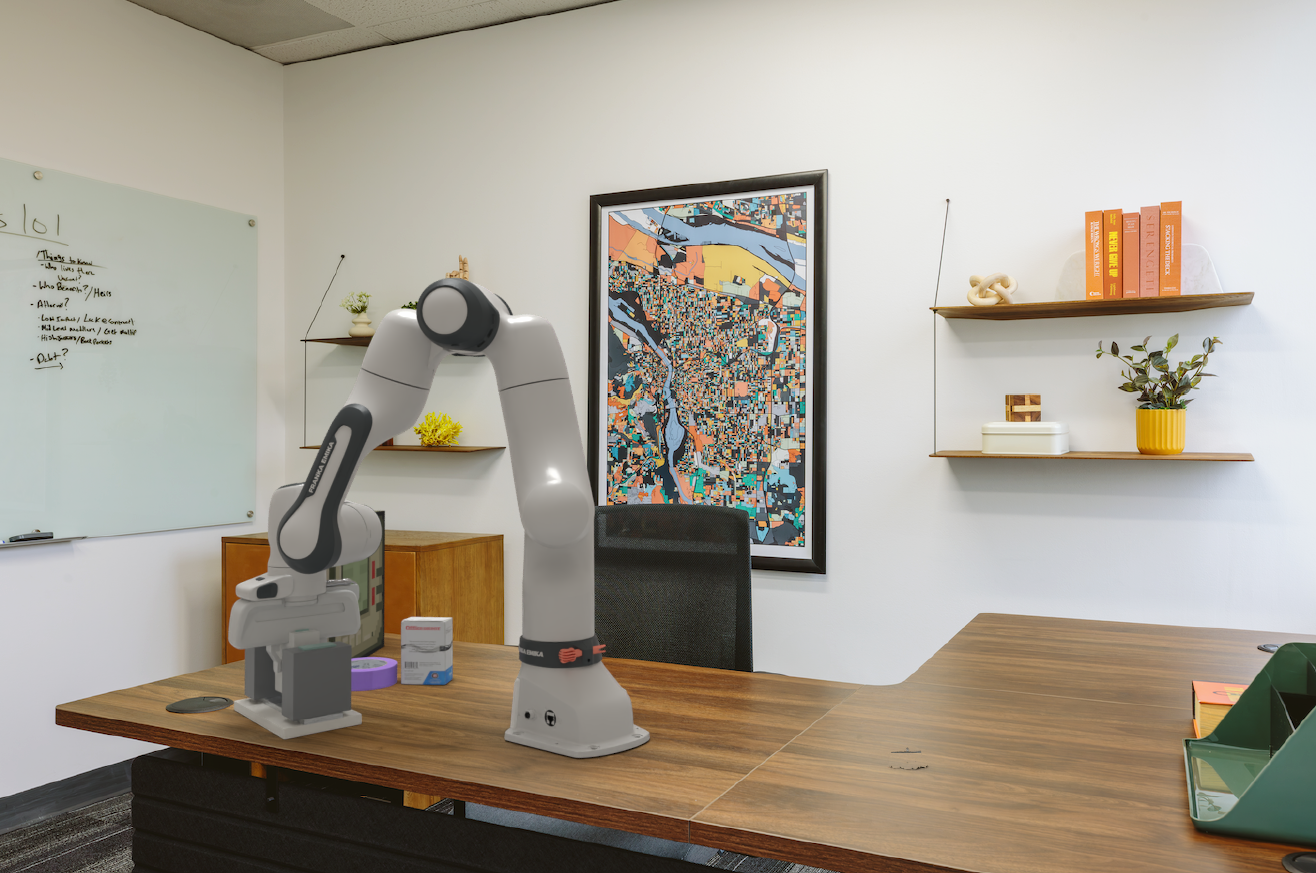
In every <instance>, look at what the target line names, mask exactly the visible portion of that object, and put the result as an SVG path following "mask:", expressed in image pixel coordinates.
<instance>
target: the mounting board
mask: <svg viewBox="0 0 1316 873" xmlns="http://www.w3.org/2000/svg"><path fill="white" fill-rule="evenodd" d="M233 710H234V712H237V713H238V714H240V715H242V716H244V717H245V718H247V719H248V720H250V721H252V722H254V724H255V723H256V724H258V725H259V726H260V727H262V728H264V729H265V730H267V731H269V732H270V733H272V734H274V735H276V736H277V737H279V738H281V739H283V740H288V739H289V740H290V739H293V738H297V737H302V736H307V735H313V734H317V733H318V734H319V733H323V732H327V731H332V730H333V731H334V730H337V729H342V728H346V727H352V726H357V725H362V722H363V721H362V719H363V716H362V715H363V714H362V713H360V712H359V711H356V710H354V709H352V708H351V710H349V711H343V718H339V719H334V720H329V721H324V722H318V723H313V724H308V725H303V724H301V723H299V722H297V721H292V720H290V719H288V718H286V717H285V716H283V715H282V713H281V712H279V711H277V710H275V709H273V708H271V707H269V706H268V705H266V704H264V703H262V702H260V701H258V700H253V699H251V698H249V697H247V698H243V699H235V700H233Z"/></svg>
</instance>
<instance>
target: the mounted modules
mask: <svg viewBox="0 0 1316 873" xmlns="http://www.w3.org/2000/svg"><path fill="white" fill-rule="evenodd" d="M351 658H352V645H349V644H346V643H343V642H340V641H338V642H326V643H319V644H311V645H304V646H298V647H294V648H286V649H282V693H281V692H279V691H277V690H275V672H274V669H273V660H272V659H271V657H270V655H269V654H268V652H267V651H266V646H262V647H255V648H247V649H244V696H246V697H247V698H251V699H253V700H257V699H263V698H269V697H275V696H281V695H282V715H283V716H285V717H286V718H288V719H290V720H292V721H296V720H301V719H307V718H312V717H317V716H322V715H328V714H333V713H338V712H343V711H349V710H351V709H352V691H351Z"/></svg>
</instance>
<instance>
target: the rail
mask: <svg viewBox="0 0 1316 873" xmlns="http://www.w3.org/2000/svg"><path fill="white" fill-rule="evenodd" d="M257 700H258V701H260V702H262V703H264V704H266V705H268V706H269V707H271V708H273V709H275V710H277V711H279V712H281V713H282V695H281V696H275V697H269V698H263V699H257ZM339 718H343V712H338V713H333V714H328V715H322V716H317V717H312V718H307V719H301V720H296V721H297V722H299V723H301V724H303V725H308V724H313V723H318V722H324V721H329V720H334V719H339Z"/></svg>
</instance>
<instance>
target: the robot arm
mask: <svg viewBox="0 0 1316 873" xmlns="http://www.w3.org/2000/svg"><path fill="white" fill-rule="evenodd" d="M450 355H451V356H453V357H472V358H474V357H475V358H483V357H486V358H487V359H488V360H489V362H490V363H491V365H492V367H493V368H492V369H493V370H494V375H495V380H496V385H497V390H498V396H499V401H500V407H501V410H502V417H503V421H504V426H505V431H506V436H507V441H508V448H509V455H510V457H509V458H510V463H511V469H512V476H513V481H514V488H515V494H516V500H517V507H518V512H519V517H520V522H521V526H522V528H523V529H524V531H523V532H524V537H523V539H524V541H523V564H522V582H521V583H522V585H521V586H522V588H521V589H522V591H521V598H522V602H521V603H522V604H521V606H522V607H521V609H522V610H521V615H522V616H521V620H522V622H521V623H522V624H521V627H522V629H521V635H520V636H519V644H518V649H517V650H518V660H519V661H520V663H521V664H520V669H519V672H518V674H517V676H516V678H515V680H514V683H513V693H512V703H511V704H512V705H511V712H510V713H511V716H510V725H509V728H507V729H506V730H505V732H504V740H505V741H506V742H507V741H509V742H512V743H515V744H520V745H523V746H526V747H527V746H528V747H531V748H535V749H538V750H539V749H540V750H543V751H548V752H552V753H555V754H559V755H564V756H568V757H572V758H577V759H578V758H579V759H580V758H581V759H582V758H592V757H593V758H594V757H599V756H600V757H601V756H606V755H611V754H614V753H615V754H616V753H619V752H623V751H626V750H629V749H630V750H631V749H632V748H633V749H634V748H637V747H638V746H640V745H642V744H645V743H647V742H648V741H650V739H651V738H650V737H651V736H650V732H649V731H647V730H646V729H645V728H642V727H641V726H639V725H636V724H634V713H633V706H632V705H633V704H632V699H631V697H630V695H629V694H628V691H627V690H626V688H623V687H622V686H621V685H620V683H619V682H618V681H617V679H616V678H615V677H614V676H613V675H612V673H611V672H610V671H609V669H608V668H607V667H606V666H605V665H604V663H603V662H602V660H603V655H602V653H606V650H602V649H604V648H605V647H606V644H600V642H599V639H598V636H597V634H596V633H595V548H594V547H595V512H596V511H595V510H596V508H595V502H594V497H593V492H592V487H591V481H590V476H589V472H588V466H587V461H586V457H585V452H584V445H583V441H582V437H581V431H580V430H581V429H580V426H579V421H578V417H577V416H578V415H577V411H576V405H575V400H574V396H573V390H572V386H571V380H570V376H569V372H568V367H567V364H566V359H565V357H564V353H563V350H562V347H561V343H560V342H559V338H558V336H557V334H556V331H555V329H554V326H553V325H552V323H551V322H550V321H549V320H548V319H546V318H545V317H543V316H540V315H537V314H534V313H533V314H532V313H523V314H515V315H514V313H513V312H512V309H511V307H510V306H509V305H508V303H507V301H505V300H504V298H502V297H501V296H500V295H498V294H496V293H494V292H492V291H491V290H490V289H488V288H487V287H486V286H483V285H482V284H479V283H476V282H473V281H469V280H467V279H464V278H459V277H446V278H441V279H438V280H436V281H433V282H432V283H430V284H428V286H427V287H426V288H425V289H424V290H423V291H422V292H421V294H420V296H419V297H418V301H417V304H416V309H412V308H398V309H392V310H390V311H389V312H388V313H386V314H385V315H384V317H382V319H381V321H380V323H379V324H378V326H377V328H376V330H375V332H374V334H373V336H372V339H371V341H369V345H368V347H367V349H366V352H365V355H364V357H363V361H362V363H361V366H360V369H359V372H358V374H357V377H356V380H355V382H354V385H353V387H352V389H351V391H350V394H349V395H348V398H347V399H346V402H344V405H343V406H342V407H341V409H340V410H339V412H338V413H337V414H336V416H335V417H334V418H333V421H332V422H331V424H330V426H329V428H328V429H327V432H326V433H325V436H324V437H323V440H322V442H321V445H320V447H319V449H318V452H317V453H316V456H315V458H314V460H313V464H312V466H311V468H310V469H309V473H308V475H307V477H306V480H305V481H303V482H294V483H289V484H286V485H282V486H280V487H278V488H277V489H275V490H274V492H273V494H272V496H271V498H270V503H269V508H268V510H269V511H268V519H267V522H268V523H267V540H268V544H269V548H270V553H269V558H268V562H267V572H265V573H263V574H260V575H257V576H255V577H253V578H250V579H247V580H245V581H243V582H240V583H238V584H237V585H236V586H235V595H236V597H238V598H239V599H237V600H236V601H235V602H234V603H233V604H232V606H231V610H230V615H229V616H230V617H229V622H228V631H227V632H228V633H227V634H228V637H227V639H228V642H229V644H230V645H231V646H232V647H233V648H235V649H237V650H245V649H247V648H255V647H262V646H266V651H267V652H268V654H269V655H270V657H271V659H272V660H273V669H274V672H276V673H280V672H282V659H280V657H279V656H278V654H277V653H276V651H280V644H284V643H289V632H295V630H300V629H309V630H312V629H315V630H318V631H320V638H319V643H326V642H327V638H329V637H336V636H343V635H351V634H356V633H357V632H358V630H359V629H360V612H359V605H358V599H359V586H358V584H357V583H356V582H355V581H352V580H351V579H349V578H344V579H340V580H326V569H329V568H331V567H336V566H341V565H346V564H349V563H353V562H358V561H361V560H364V559H366V558H368V557H370V556H372V555H373V554H374V553H375V552H376V551H377V549H378V548H379V546H380V544H381V541H382V535H383V530H382V524H381V521H380V518H379V516H378V515H377V513H376V512H375V511H376V510H374V509H373V508H372V507H370V506H369V505H366V504H362V503H359V502H355V501H352V500H349V499H347V496H348V493H349V491H350V489H351V486H352V485H353V483H354V480H355V478H356V475H357V472H358V470H359V468H360V467H361V466H360V465H362V462H363V460H364V459H365V458H366V457H367V456H368V455H369V453H371V452H372V451H373V450H374V449H376V448H377V447H379V446H380V445H382V444H384V443H385V442H387V441H389V440H390V439H393V438H395V437H397V436H399V435H401V434H404V433H405V432H407V431H408V430H410V429H411V428H413V427H414V426H415V424H416V422H417V421H418V419H419V418H420V415H421V414H422V412H423V410H424V408H425V406H426V403H427V400H428V398H429V394H430V391H431V389H432V385H433V381H434V378H435V376H436V372H437V370H438V368H439V366H440V364H441V363H442V361H443V360H444V359H445V358H446V357H448V356H450ZM351 583H353V584H351ZM349 584H351V585H349ZM338 585H340V586H338Z"/></svg>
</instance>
